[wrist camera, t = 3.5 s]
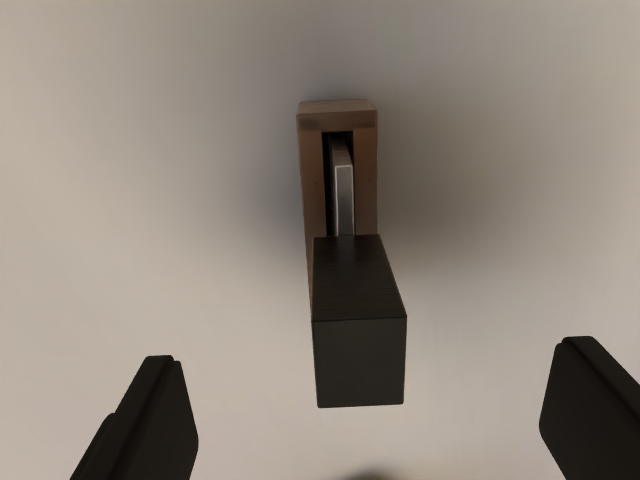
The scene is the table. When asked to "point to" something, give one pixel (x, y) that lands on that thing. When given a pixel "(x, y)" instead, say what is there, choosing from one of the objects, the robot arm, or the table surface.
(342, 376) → the knife
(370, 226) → the knife block
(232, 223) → the table surface
